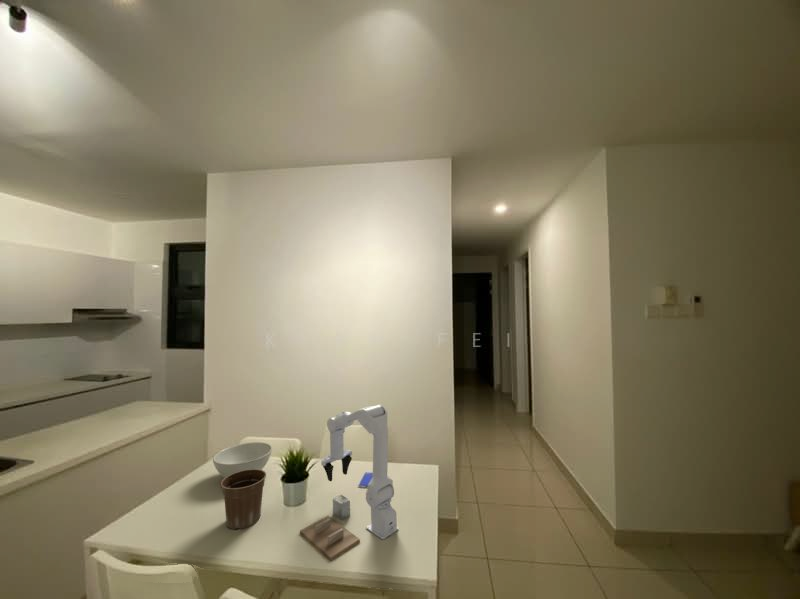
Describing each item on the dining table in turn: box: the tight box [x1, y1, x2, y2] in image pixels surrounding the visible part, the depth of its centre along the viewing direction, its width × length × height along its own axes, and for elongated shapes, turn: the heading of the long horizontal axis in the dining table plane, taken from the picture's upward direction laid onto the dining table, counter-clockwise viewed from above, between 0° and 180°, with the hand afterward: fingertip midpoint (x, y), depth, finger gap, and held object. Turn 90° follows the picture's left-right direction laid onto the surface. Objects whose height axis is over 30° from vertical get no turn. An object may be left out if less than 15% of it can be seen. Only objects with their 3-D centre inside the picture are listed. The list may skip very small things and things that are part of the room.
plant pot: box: [220, 469, 267, 530], centre depth 129 cm, size 16×16×16 cm
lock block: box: [332, 494, 351, 521], centre depth 131 cm, size 6×4×6 cm, turn 45°
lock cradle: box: [299, 515, 361, 561], centre depth 117 cm, size 20×12×4 cm, turn 45°
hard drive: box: [357, 471, 373, 489], centre depth 157 cm, size 2×8×12 cm
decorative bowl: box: [212, 441, 273, 479], centre depth 164 cm, size 27×27×12 cm
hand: (337, 477), depth 141 cm, fingers open, 7 cm apart
